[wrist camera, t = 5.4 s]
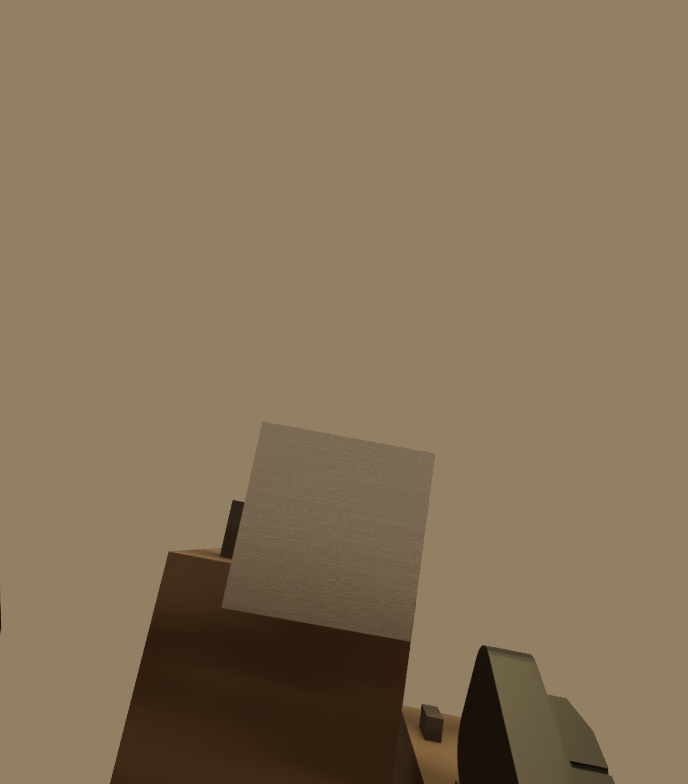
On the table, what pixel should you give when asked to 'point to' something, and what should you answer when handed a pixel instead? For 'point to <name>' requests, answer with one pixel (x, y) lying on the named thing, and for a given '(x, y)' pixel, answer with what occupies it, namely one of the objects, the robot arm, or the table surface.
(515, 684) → the robot arm
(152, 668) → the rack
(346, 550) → the block
